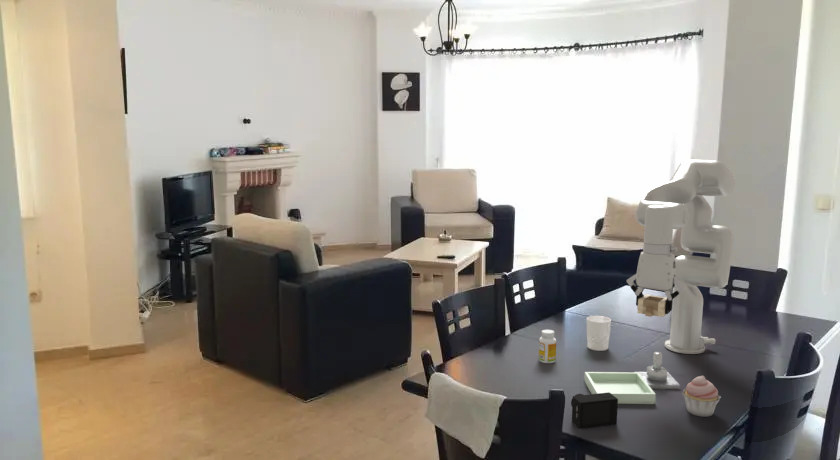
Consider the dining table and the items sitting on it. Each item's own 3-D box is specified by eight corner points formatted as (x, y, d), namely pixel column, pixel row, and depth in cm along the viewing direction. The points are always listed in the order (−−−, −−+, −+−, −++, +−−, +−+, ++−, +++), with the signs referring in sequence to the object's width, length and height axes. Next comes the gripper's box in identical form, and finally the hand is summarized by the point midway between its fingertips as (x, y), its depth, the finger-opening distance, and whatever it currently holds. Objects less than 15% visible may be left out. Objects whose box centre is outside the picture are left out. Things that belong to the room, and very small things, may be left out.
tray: (637, 381, 193) (638, 372, 193) (655, 403, 178) (655, 394, 177) (584, 381, 194) (584, 371, 193) (596, 403, 178) (597, 393, 178)
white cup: (610, 352, 218) (612, 323, 217) (586, 350, 220) (587, 321, 218) (608, 344, 226) (610, 316, 224) (585, 343, 227) (586, 315, 226)
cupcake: (727, 418, 169) (730, 381, 168) (695, 421, 167) (697, 384, 166) (704, 403, 178) (707, 367, 177) (673, 406, 176) (676, 370, 175)
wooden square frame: (644, 307, 193) (645, 294, 192) (669, 311, 189) (670, 298, 188) (635, 314, 186) (636, 300, 185) (661, 318, 182) (661, 304, 181)
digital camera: (606, 415, 171) (607, 390, 170) (617, 424, 166) (618, 398, 165) (569, 419, 169) (570, 393, 168) (579, 429, 163) (580, 402, 162)
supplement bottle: (556, 358, 212) (557, 329, 211) (554, 364, 207) (555, 334, 206) (540, 356, 214) (540, 328, 212) (537, 362, 209) (538, 333, 207)
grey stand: (667, 375, 198) (669, 347, 196) (679, 389, 188) (681, 359, 186) (634, 375, 198) (635, 347, 196) (644, 388, 188) (645, 359, 187)
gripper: (693, 250, 183) (688, 312, 186) (630, 244, 193) (627, 303, 196) (686, 254, 177) (682, 318, 180) (622, 247, 187) (619, 308, 190)
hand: (653, 310), depth 188 cm, fingers closed on wooden square frame, 7 cm apart
